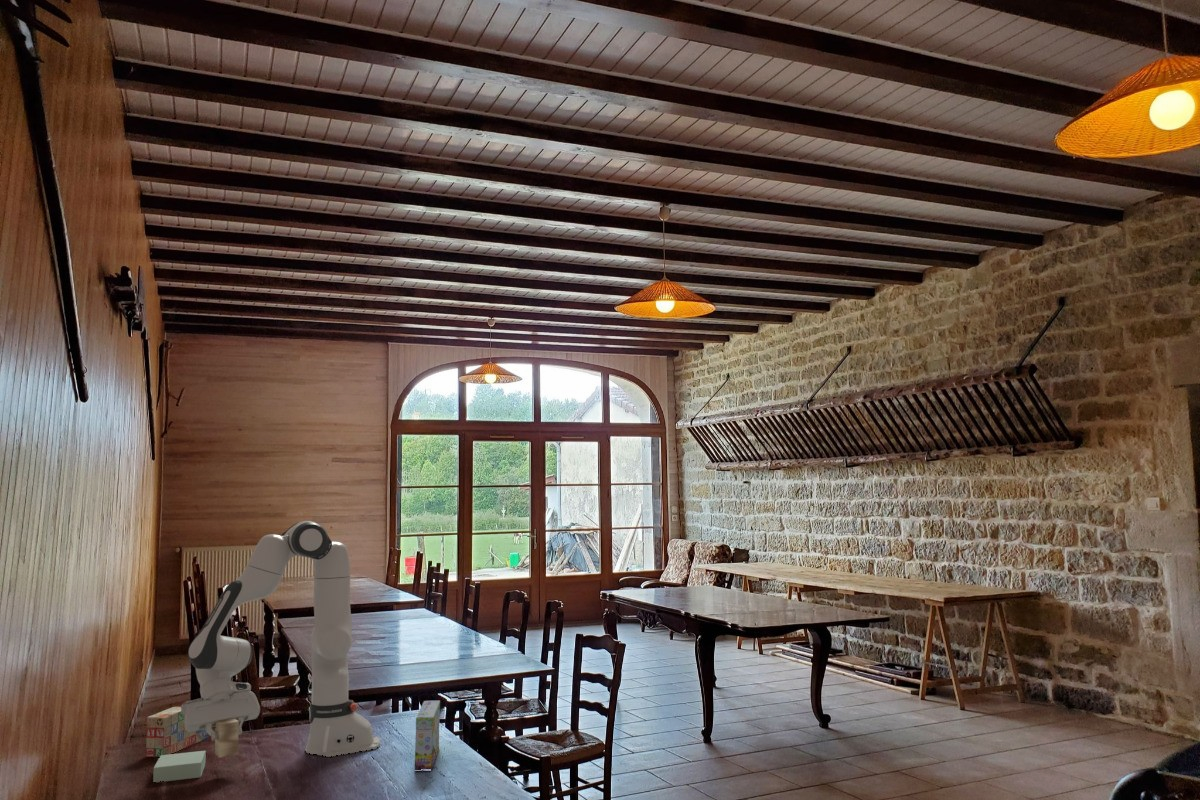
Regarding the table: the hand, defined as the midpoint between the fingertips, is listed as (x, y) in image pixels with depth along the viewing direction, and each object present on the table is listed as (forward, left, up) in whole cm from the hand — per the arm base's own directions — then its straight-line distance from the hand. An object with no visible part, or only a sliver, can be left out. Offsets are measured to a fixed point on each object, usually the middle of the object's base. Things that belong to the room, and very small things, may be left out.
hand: (227, 736), depth 239 cm
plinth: (+13, -7, -11) cm, 18 cm away
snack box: (-56, +9, -11) cm, 57 cm away
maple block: (0, -1, -5) cm, 5 cm away
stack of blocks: (+17, -35, -11) cm, 40 cm away
